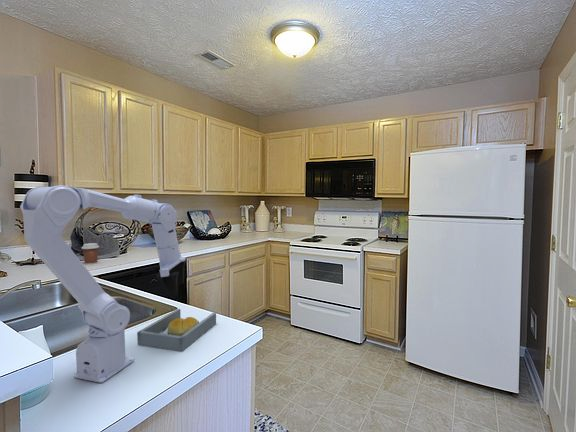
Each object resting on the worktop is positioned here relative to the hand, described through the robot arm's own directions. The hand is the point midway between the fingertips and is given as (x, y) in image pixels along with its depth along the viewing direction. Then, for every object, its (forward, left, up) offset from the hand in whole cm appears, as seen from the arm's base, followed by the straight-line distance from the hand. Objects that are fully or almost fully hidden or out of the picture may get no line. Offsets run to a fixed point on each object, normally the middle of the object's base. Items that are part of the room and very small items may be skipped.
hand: (176, 289), depth 88 cm
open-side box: (+1, 0, -14) cm, 14 cm away
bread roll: (+3, 0, -14) cm, 14 cm away
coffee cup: (+70, +110, -14) cm, 131 cm away
